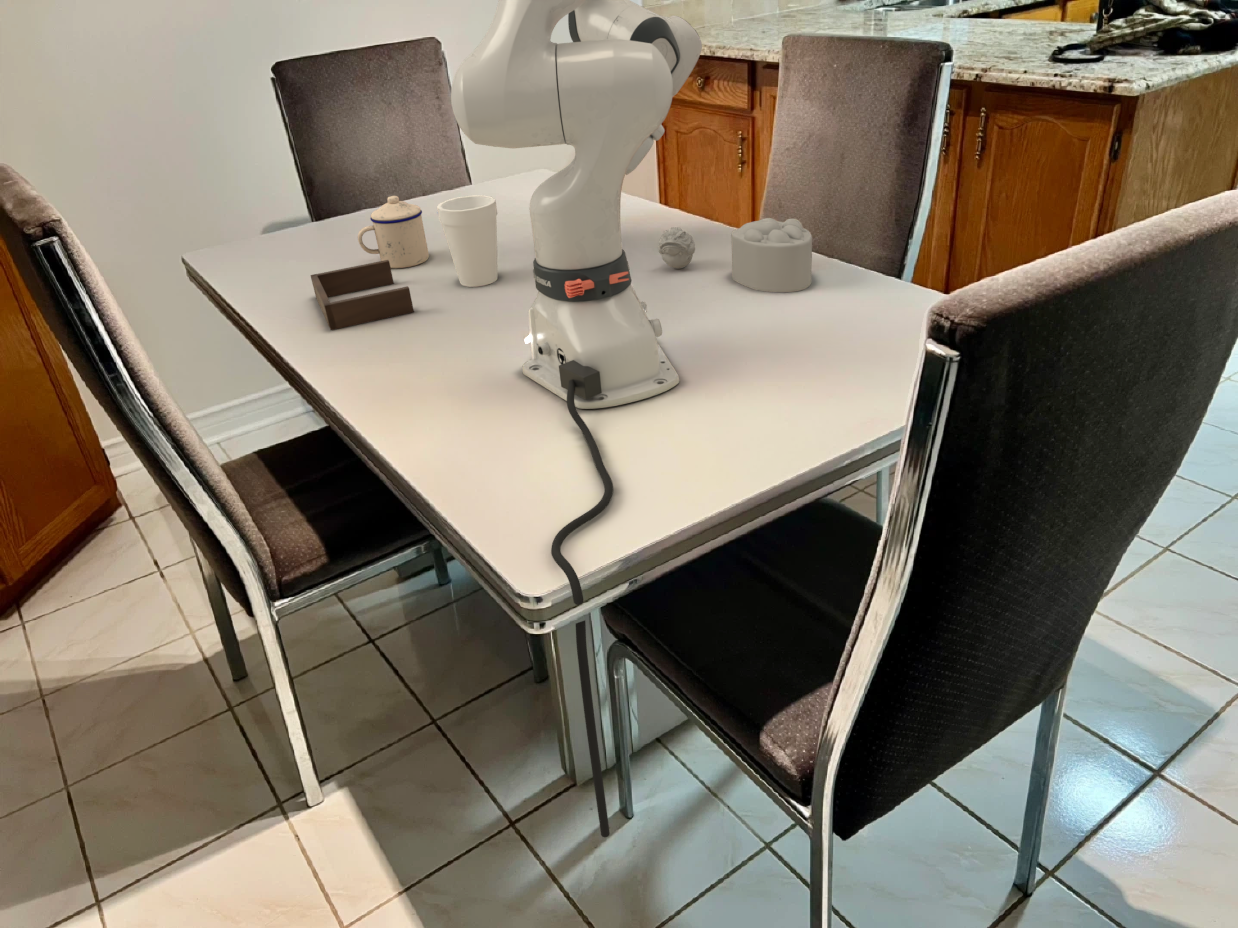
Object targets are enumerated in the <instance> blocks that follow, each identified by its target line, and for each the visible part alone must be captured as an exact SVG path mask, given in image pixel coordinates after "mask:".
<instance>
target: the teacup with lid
mask: <svg viewBox="0 0 1238 928" xmlns="http://www.w3.org/2000/svg"><path fill="white" fill-rule="evenodd" d="M422 213H423V211H422V209H421V207H420V206H418V205H416V204H413V203H408V202H406V201H403V200H400V198H399V196H397V195H390V196H387V202H386V203H384V204H383V205H382V206H380V207H379V208H377V209H375V210H373V211H372V213H371V214H370V218H369V219H370V221H371V222H372V225H367V226H364V227H362V228H361V229H360V230H359V231H358V233H357V241H358V245H359V246H360V247H361V249H362V250H363V251H364V252H366V253H368V254H371V255H379V259H380V261H384V260H389V263H390V267H391V269H404V268H411V267H415V266H418V265H421V264H423V263H425V262H426V261H427V260H428V259H429V257H430V253H429V248H428V243H427V238H426V233H425V227H424V223H423V216H422ZM371 231H374V235H375V240H376V244H377V245H376V246H377V248H374V249H373V248H370V247H367V246H366V245H365V243H364V242H363V235H364V234H365V233H367V232H371Z"/></svg>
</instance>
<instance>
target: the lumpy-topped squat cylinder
mask: <svg viewBox="0 0 1238 928" xmlns="http://www.w3.org/2000/svg"><path fill="white" fill-rule="evenodd" d="M730 234H731V236H730V242H731V243H730V244H731V245H730V246H731V247H730V248H731V278H732V280H733V281H734V282H736V283H738V284H740V285H741V286H744V287H747V288H749V289H751V290H756V291H758V292H759V291H760V292H770V293H794V292H800V291H803V290H806V289H808V288H809V287H810V286H811V284H812V272H813V271H812V269H813V265H812V264H813V235H812V234H811V232H810V230H809V229H806V228H804V227H803V224H802V222H801V221H800V220H798V219H797V218H788V219H786V220H785V221H778V220H776V219H774V218H773V217H765V218H762V219H760V220H755V221H751V222H746V223H744V224H743V225H742V226H740V227H739V228H736V229H734V230H733V231H731V233H730Z"/></svg>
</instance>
